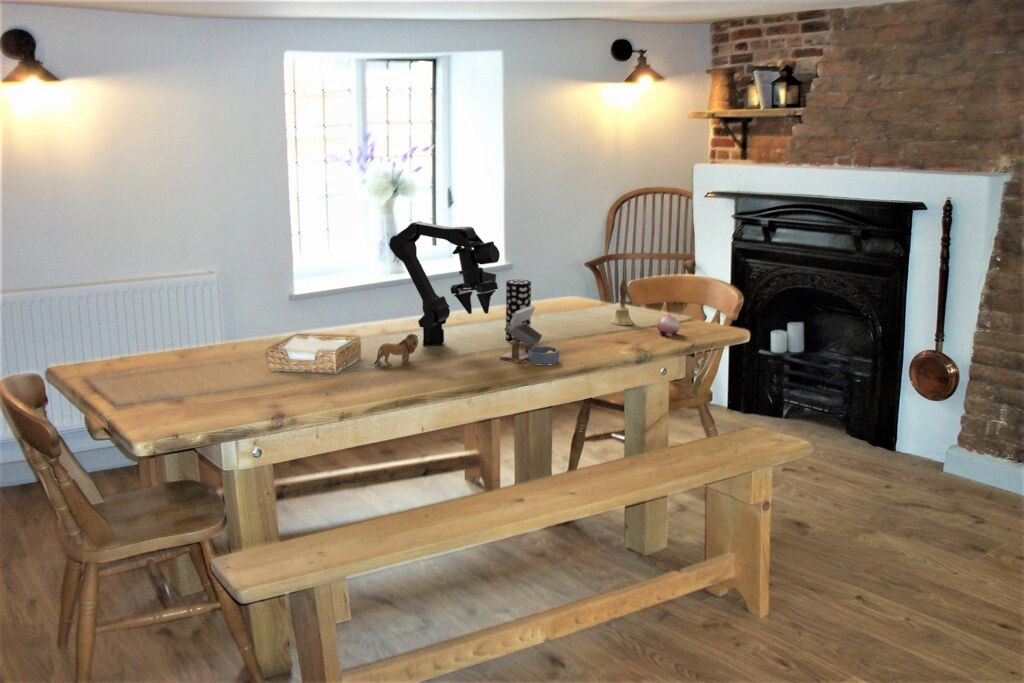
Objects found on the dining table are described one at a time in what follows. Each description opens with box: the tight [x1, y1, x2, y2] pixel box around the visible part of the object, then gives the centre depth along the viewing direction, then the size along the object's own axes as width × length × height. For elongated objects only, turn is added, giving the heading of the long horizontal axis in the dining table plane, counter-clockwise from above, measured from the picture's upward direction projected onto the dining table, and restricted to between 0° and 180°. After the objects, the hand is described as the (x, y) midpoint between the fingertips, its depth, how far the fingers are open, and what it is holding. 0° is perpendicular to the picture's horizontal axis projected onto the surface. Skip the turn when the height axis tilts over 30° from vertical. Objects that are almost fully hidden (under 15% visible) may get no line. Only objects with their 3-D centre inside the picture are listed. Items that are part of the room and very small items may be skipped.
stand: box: [499, 339, 533, 363], centre depth 345 cm, size 8×11×7 cm
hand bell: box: [610, 279, 634, 326], centre depth 392 cm, size 8×8×16 cm
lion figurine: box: [373, 333, 419, 367], centre depth 337 cm, size 15×5×9 cm, turn 116°
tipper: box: [503, 304, 543, 347], centre depth 342 cm, size 10×11×8 cm
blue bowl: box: [527, 345, 560, 366], centre depth 341 cm, size 9×9×4 cm
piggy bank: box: [656, 313, 681, 338], centre depth 377 cm, size 8×8×7 cm
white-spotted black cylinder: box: [505, 279, 532, 342], centre depth 366 cm, size 8×8×20 cm
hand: (478, 313), depth 350 cm, fingers open, 9 cm apart
